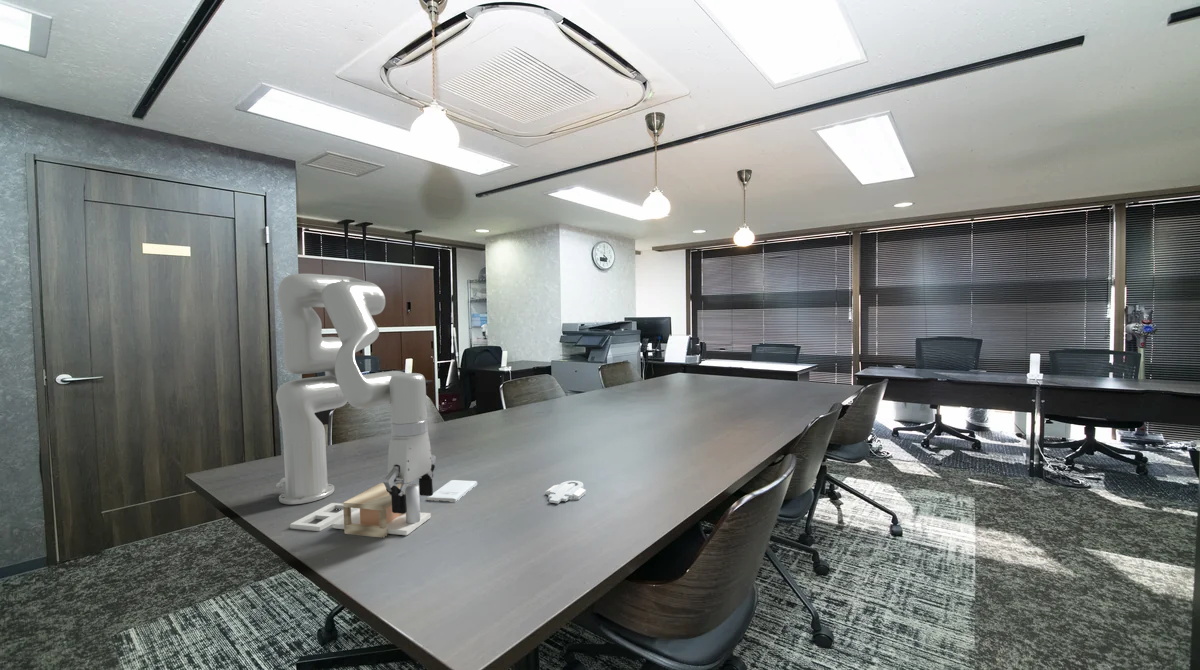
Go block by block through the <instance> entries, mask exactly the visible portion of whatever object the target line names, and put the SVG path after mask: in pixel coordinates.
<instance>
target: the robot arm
mask: <svg viewBox="0 0 1200 670" xmlns="http://www.w3.org/2000/svg"><path fill="white" fill-rule="evenodd" d="M277 288H278V289H277V301H278V306H279V311H280V312H281V317H282V323H283V331H282V332H283V337H282V338H283V346H282V347H283V365H284V368H285V370H286V372H288V373H290V374H294V375H305V374H307V375H308V374H316V373H322V372H324V374H325V375H322V376H315V377H314V376H312V377H305V378H297V379H293V380H290V381H287V382H284V383H283V384H281V385H280V386H279V387H278V389H277V390H276V396H275V399H276V405H277V407H278V412H279V417H280V420H281V429H282V442H283V443H282V444H283V461H284V477H282V478H281V479H280V480H279V482H277V483H276V484H275V486H276V487H275V488H279V489H281V488H282V493H281V494H280V495H279V496H278V500H279V503H281V504H284V505H301V504H307V503H313V502H315V501H318V500H319V501H320V500H322V499H324V498H327V497H329V496H330V495H332V494H333V493H334V492H335V485H333V484H331V483H328V468H327V467H328V466H327V446H326V429H325V426H324V424H323V422H322V421H321V420H320V419H319V417H317V415H316V414H315V413H320V412H324V411H329V410H334V409H339V408H341V407H343V406H345V405H346V404H347V403H349V405H350V406H351V407H353V408H356V409H359V410H366V409H370V408H375V407H380V406H386V405H390V407H389V408H390V410H389V411H390V427H391V438H389V439H390V440H389V443H388V450H387V451H388V452H387V475H386V477H384V480H383V482H382V483H384V485H385V487H386V490H387V492H389V495H391V497H392V512H393V513H403V514H404V513H406V512H407V505H406V494H404V491H405V489H406V486H407V485H409V484H410V483H411V484H412V482H414V481H416V480H417V479H418V485H419V496H421V497H423V496H424V497H425V496H426V497H428V496H432V495H433V493H434V491H433V490H434V489H433V478H434V475H435V474H434V470H435V468H436V466H435V464H436V460H437V456H436V455H434V454H432V447H431V439H430V436H429V435H430V434H429V428H428V409H427V386H426V378H425V376H424V375H423V374H421V373H417V372H408V373H407V372H404V371H401V370H389V371H381V372H375V373H372V372H371V373H366V374H363V373H362V372H361V370H360V368H359V366H358V364H357V361H356V353H358V352H359V351H361V350H363V349H365V348H366V347H368V346H370V345H371V344H373V343H374V342H375V341H376V340H377V339H378V337H379V336H380V330H379V327H378V325H377V323H376V321H375V320H374V318H373V316H377V315H379V314H381V313H382V312H383V311H384V309H385V307H386V296H385V293H384V292H383V290H382V289H381V287H380V286H378V285H377V284H376V283H373V282H371V281H366V280H362V279H358V278H357V277H351V276H347V275H345V276H343V275H330V274H323V273H322V274H320V273H294V274H289V275H287V276H285V277H284V278H283V279H282V280H281V281H280V282H279V284H278V287H277ZM313 308H325V310H326V313H327V314H328V316H329V319H330V321H331V323H332V325H333V327H334V330H335V332H336V333H337V336H338V337H337V336H325V337H323V335H322V333H323V330H322V327H323V324H322V319H321V318H320V316H319V315H318V313H317V311H316V310H315V309H313ZM398 484H401V487H400V489H399V488H398V487H397V486H398Z"/></svg>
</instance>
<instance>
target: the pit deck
mask: <svg viewBox="0 0 1200 670" xmlns="http://www.w3.org/2000/svg"><path fill="white" fill-rule="evenodd" d="M336 509H337V510H336ZM339 509H340V510H341V509H343V503H340V502H331V503H329V504H327V505H325V506H323V507H321V508H319V509H317V510H315V511H312V512H311V513H309V514H307V515H305V516H304V517H303V516H302V517H301V518H299V519H297V520H295V521H293V522H292V523H290V524H289V525H290V527H289V528H290V529H294V530H305V531H315V532H321V531H323V530H325V529H326V528H328V527H330V526H331V525H332V526H333V523H335V522H336V521H338V520H340V519H342V518H343V517H344V510H341V511H340V510H339ZM358 509H359V508H351V513H352V512H354V511H356V510H358Z"/></svg>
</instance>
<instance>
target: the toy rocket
mask: <svg viewBox="0 0 1200 670" xmlns="http://www.w3.org/2000/svg"><path fill="white" fill-rule="evenodd" d="M586 494H587V489H585V488H584V483H583V482H582V481H579V480H567V481H564V482H561V483H560V484H554V485H552V486H551V487H550V488H548V489H547V490H545V495H547V496H548V497H547V499H548V503H552V504H559V503H561V502H567V501H573V500H574V501H576V500H580V499H581V498H582V497H583V496H584V495H586Z"/></svg>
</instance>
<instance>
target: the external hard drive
mask: <svg viewBox="0 0 1200 670" xmlns="http://www.w3.org/2000/svg"><path fill="white" fill-rule="evenodd" d="M477 485H478V480H461V479H450V480H449V481H448V482H447V483H445V484H443V485H442V486H441V487H439V488H438V489H437V490H435V491H433V495H432V496H426V501H427V500H434V501H433V502H444V501H452V502H451V503H457V502H458V501H459V500H460V498H461V497H462V496H463V497H464V496H465V495H467V494H468V493H469V492H470V491H472V490H473V489H474V488H475V487H476V486H477ZM473 487H474V488H473ZM472 488H473V489H472ZM468 491H469V492H468ZM467 492H468V493H467ZM466 493H467V494H466ZM463 497H462V498H463ZM462 498H461V499H462ZM439 500H440V501H439ZM457 500H458V501H457ZM456 501H457V502H456Z"/></svg>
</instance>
